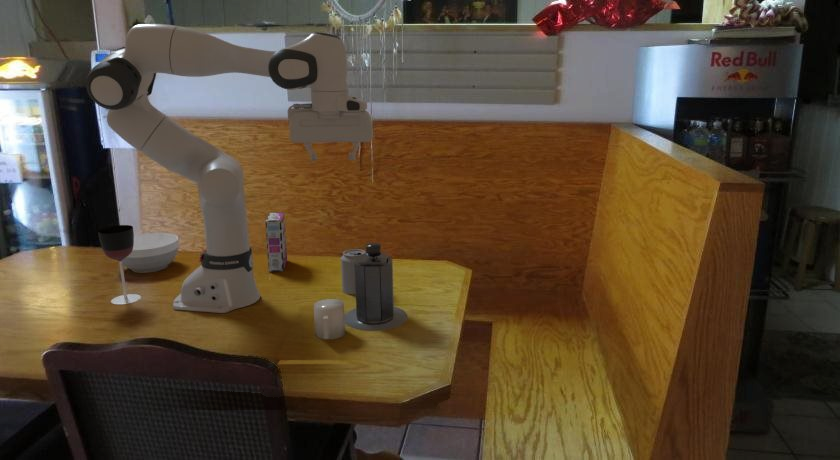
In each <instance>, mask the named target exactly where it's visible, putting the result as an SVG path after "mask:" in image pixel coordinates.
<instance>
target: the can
mask: <svg viewBox="0 0 840 460" xmlns="http://www.w3.org/2000/svg"><path fill="white" fill-rule="evenodd" d="M342 254H343V255H342V256H341V257H340V266H341V267H340V268H341V269H340V270H341V287H342V288H341V289H342V292H343V293H345V294H346V295H355V296H356V288H355V261H356V259H357V258H360V257H361V254H366V250H363V249H359V248H354V249H353V248H352V249H347V250H343V252H342Z"/></svg>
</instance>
